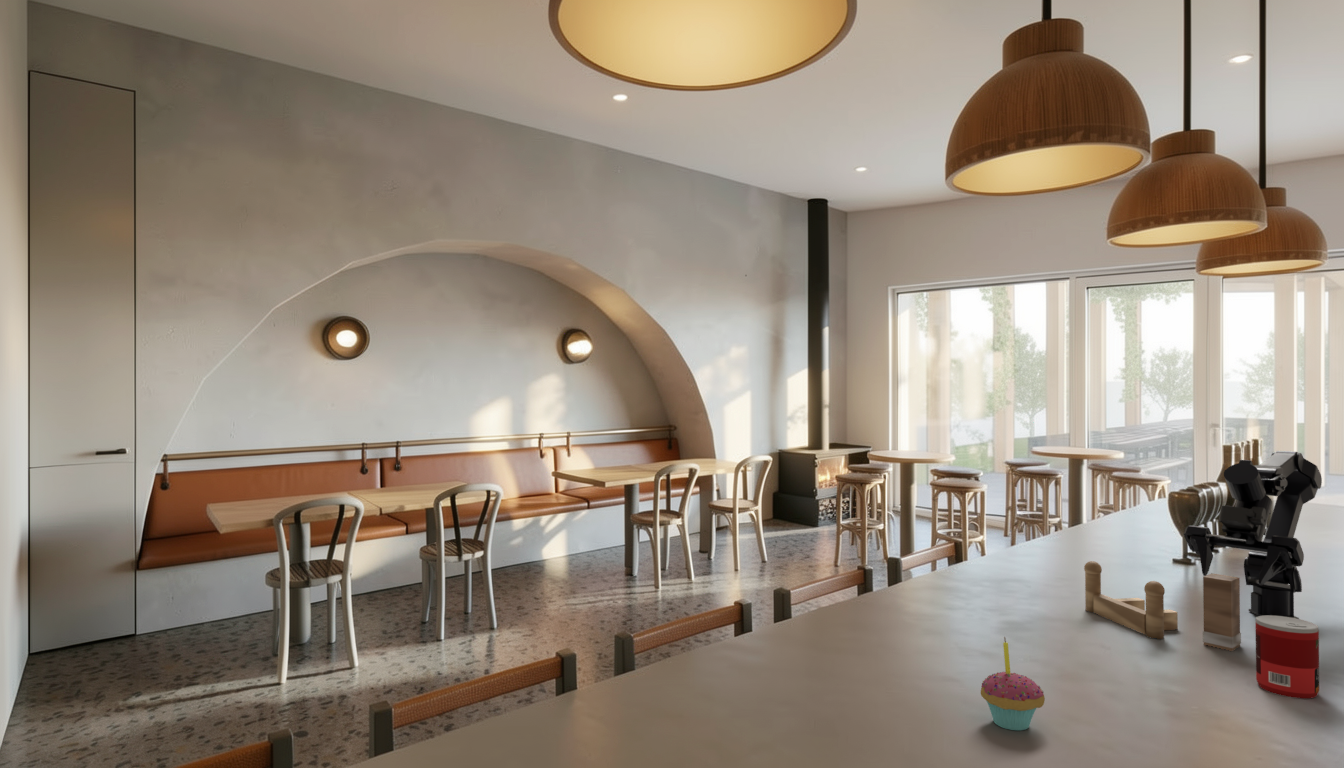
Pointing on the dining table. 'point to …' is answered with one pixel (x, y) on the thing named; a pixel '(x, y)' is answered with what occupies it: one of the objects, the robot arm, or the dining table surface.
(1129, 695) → the dining table surface
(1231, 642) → the block
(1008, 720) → the cupcake
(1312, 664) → the canned food
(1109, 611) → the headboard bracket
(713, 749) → the dining table surface
